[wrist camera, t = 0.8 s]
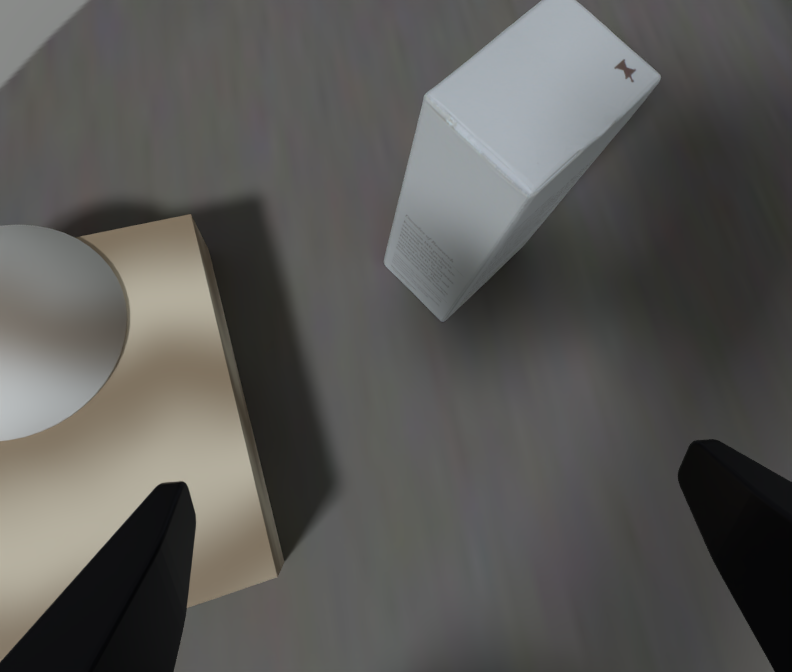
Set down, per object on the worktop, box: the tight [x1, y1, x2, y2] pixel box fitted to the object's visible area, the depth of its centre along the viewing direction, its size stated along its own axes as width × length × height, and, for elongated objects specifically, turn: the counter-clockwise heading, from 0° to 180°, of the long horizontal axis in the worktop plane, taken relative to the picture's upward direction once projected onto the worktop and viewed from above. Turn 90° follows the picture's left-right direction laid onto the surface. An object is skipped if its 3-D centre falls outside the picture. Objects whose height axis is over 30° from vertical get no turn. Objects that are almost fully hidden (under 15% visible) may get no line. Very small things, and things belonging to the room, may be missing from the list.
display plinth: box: [0, 214, 284, 662], centre depth 20 cm, size 15×14×4 cm
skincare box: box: [384, 0, 661, 322], centre depth 20 cm, size 6×4×12 cm
